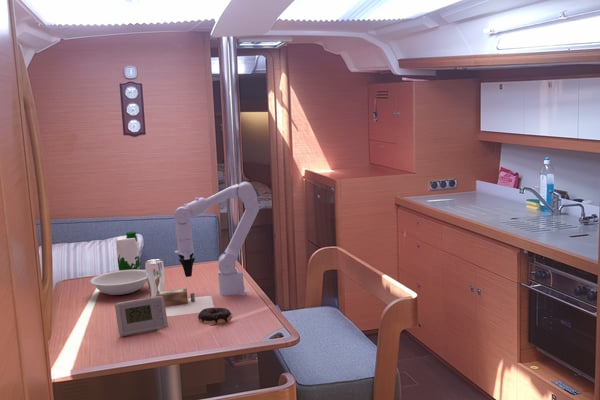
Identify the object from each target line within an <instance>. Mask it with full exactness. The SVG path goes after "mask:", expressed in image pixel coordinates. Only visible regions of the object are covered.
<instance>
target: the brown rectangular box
mask: <svg viewBox="0 0 600 400" xmlns="http://www.w3.org/2000/svg"><path fill="white" fill-rule="evenodd" d="M156 296H163V298H164V303H165V307H166V306H175V305H183V304H188V298H189V297H188V288H180V289H179V288H178V289H170V290H164V291H160V292H156Z"/></svg>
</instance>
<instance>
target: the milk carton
mask: <svg viewBox="0 0 600 400" xmlns="http://www.w3.org/2000/svg"><path fill="white" fill-rule="evenodd" d="M138 242H139V241H138V235H137V232H136V231H128V232H126V233H125V235H124V236H118V237H117V238H116V241H115V243H116V244H115V246H116V247H115V248H116V257H117V267H118V271H121V270H141V263H140V252H139V243H138Z"/></svg>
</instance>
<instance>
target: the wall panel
mask: <svg viewBox="0 0 600 400" xmlns="http://www.w3.org/2000/svg"><path fill="white" fill-rule="evenodd" d="M189 294H190V297H188V304H183V305H175V306H166V307H165V309H166V315H167V318H168V317H169V318H170V317H174V316H175V317H178V316H184V315H194V314H199V313H200V312H201V311H202V310H203V309H206V308H215V306H214V301H213V298H212V295H204V296H195V292H191V293H189Z"/></svg>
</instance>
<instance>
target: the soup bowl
mask: <svg viewBox="0 0 600 400" xmlns="http://www.w3.org/2000/svg"><path fill="white" fill-rule="evenodd" d="M89 282H90V285H93V286H95V287H96V289H97V290H98V291H99V292H101V293H103V294H105V295H111V296H120V295H128V294H131V293H134V292H137V291H138V290H139V291H140V289H142V288H143V287H144V285H145V284H146V283H147V278H146V269H140V270H121V271H119V270H114V271H109V272H106V273H101V274H98V275H96V276H93V277H91V279H90V280H89Z"/></svg>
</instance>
